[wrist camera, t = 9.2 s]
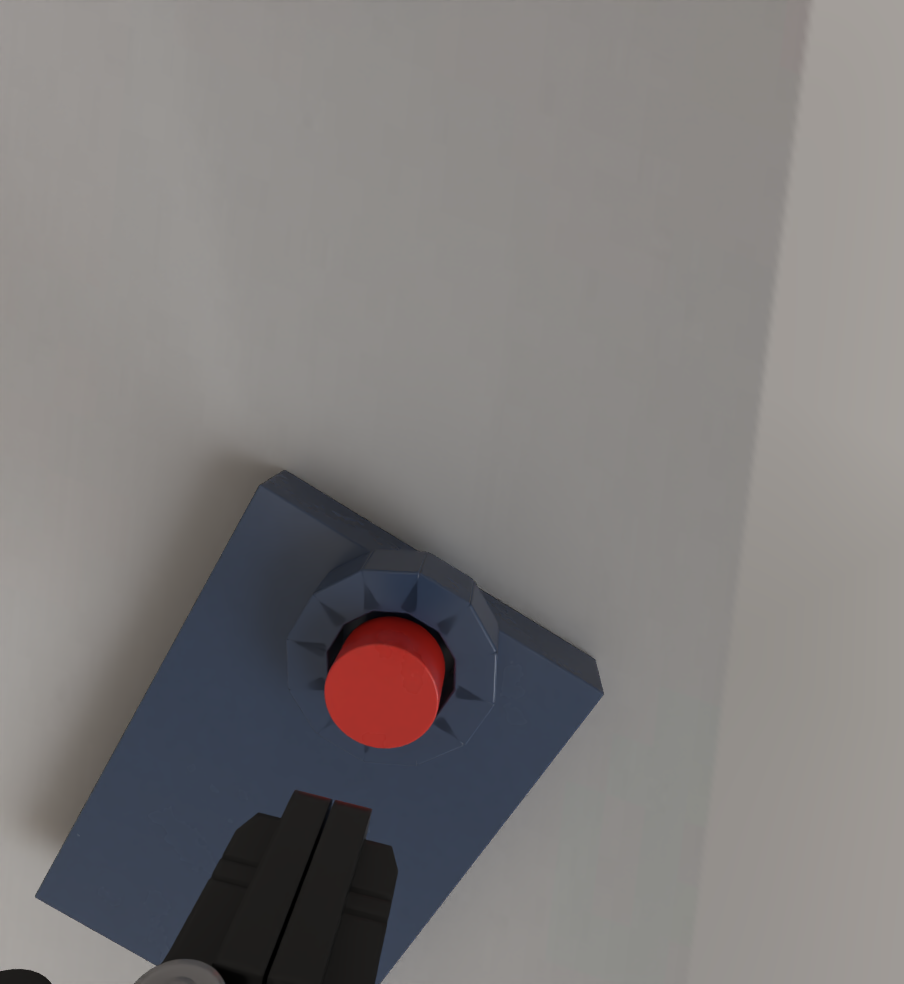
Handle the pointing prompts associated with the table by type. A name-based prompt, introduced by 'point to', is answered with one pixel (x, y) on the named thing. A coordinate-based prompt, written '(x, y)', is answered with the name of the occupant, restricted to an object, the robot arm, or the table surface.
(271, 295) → the table surface
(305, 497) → the button block
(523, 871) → the table surface
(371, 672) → the button
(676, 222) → the table surface
